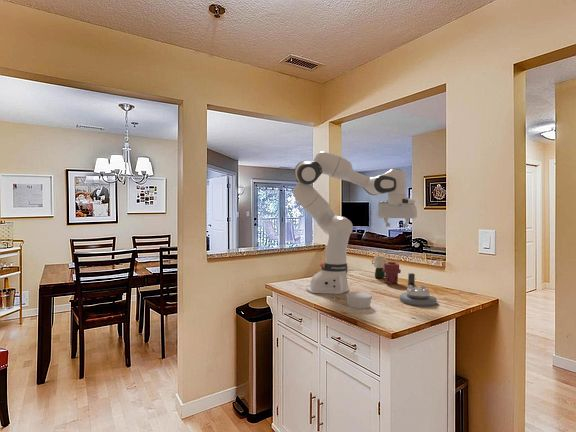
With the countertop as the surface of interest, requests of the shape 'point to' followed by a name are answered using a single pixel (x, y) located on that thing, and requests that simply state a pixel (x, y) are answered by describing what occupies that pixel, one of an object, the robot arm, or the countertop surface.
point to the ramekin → (359, 300)
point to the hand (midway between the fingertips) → (396, 226)
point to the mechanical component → (391, 272)
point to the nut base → (418, 300)
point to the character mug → (379, 266)
